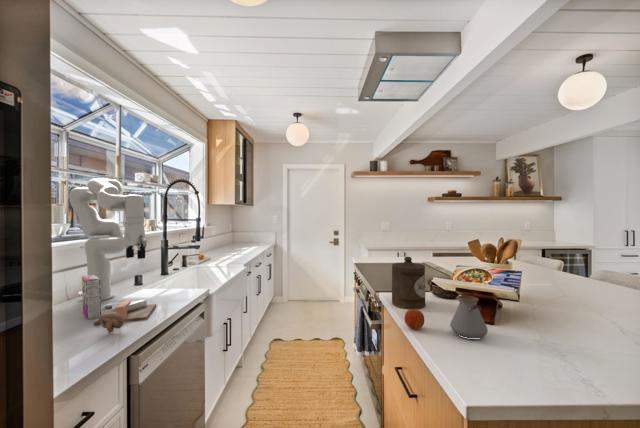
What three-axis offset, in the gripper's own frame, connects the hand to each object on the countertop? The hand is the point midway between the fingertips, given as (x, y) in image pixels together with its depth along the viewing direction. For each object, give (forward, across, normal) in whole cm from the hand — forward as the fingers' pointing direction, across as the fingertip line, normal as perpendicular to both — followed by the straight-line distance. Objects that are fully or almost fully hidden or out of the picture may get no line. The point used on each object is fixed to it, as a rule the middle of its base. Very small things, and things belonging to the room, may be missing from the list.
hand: (135, 258), depth 135 cm
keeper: (+22, +10, -11) cm, 27 cm away
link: (+21, +6, -8) cm, 24 cm away
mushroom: (+24, +23, -21) cm, 39 cm away
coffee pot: (+26, +136, +34) cm, 143 cm away
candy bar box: (+23, -6, -16) cm, 28 cm away
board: (+23, +8, -8) cm, 26 cm away
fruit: (+26, +118, +36) cm, 126 cm away
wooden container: (+26, +109, +63) cm, 129 cm away
